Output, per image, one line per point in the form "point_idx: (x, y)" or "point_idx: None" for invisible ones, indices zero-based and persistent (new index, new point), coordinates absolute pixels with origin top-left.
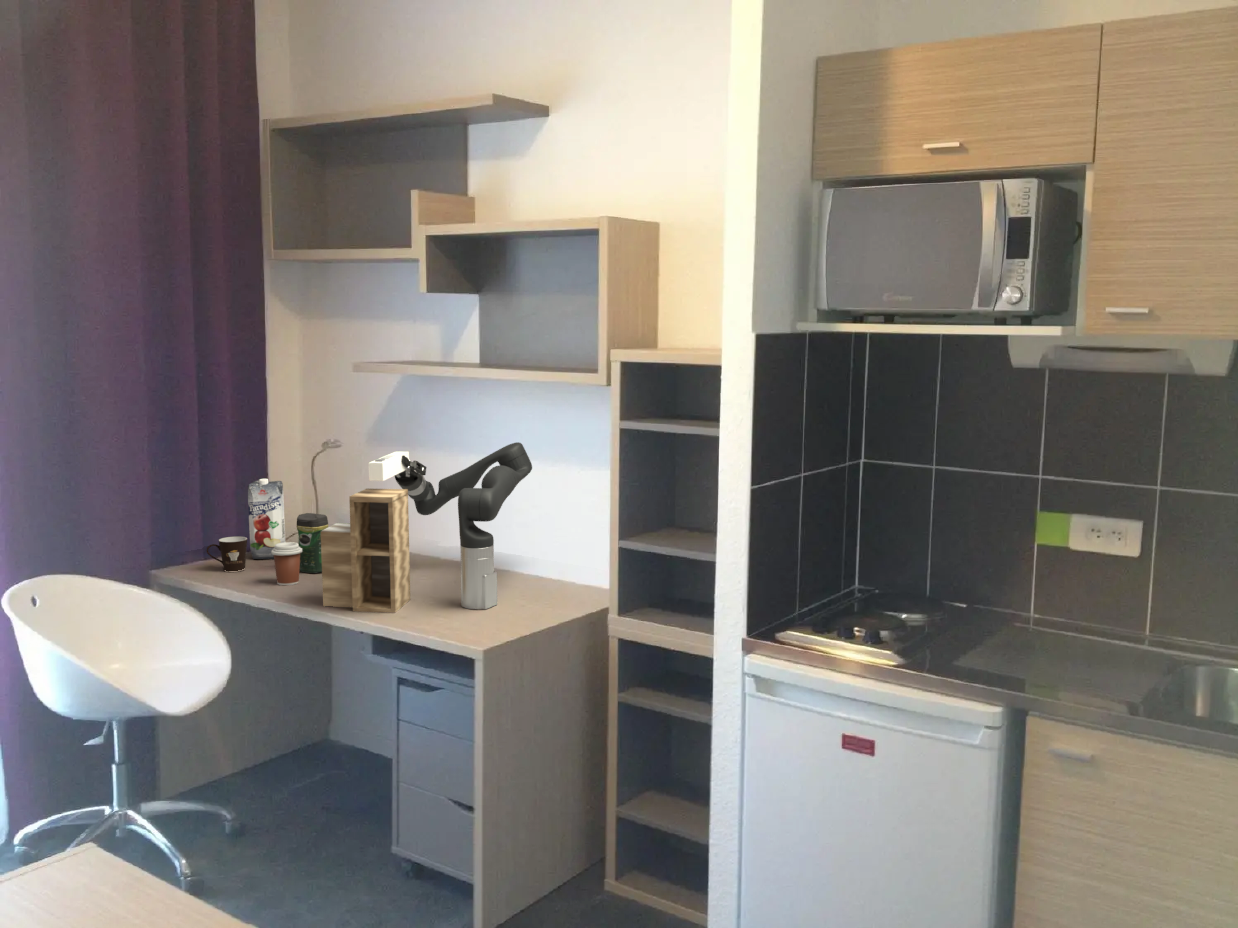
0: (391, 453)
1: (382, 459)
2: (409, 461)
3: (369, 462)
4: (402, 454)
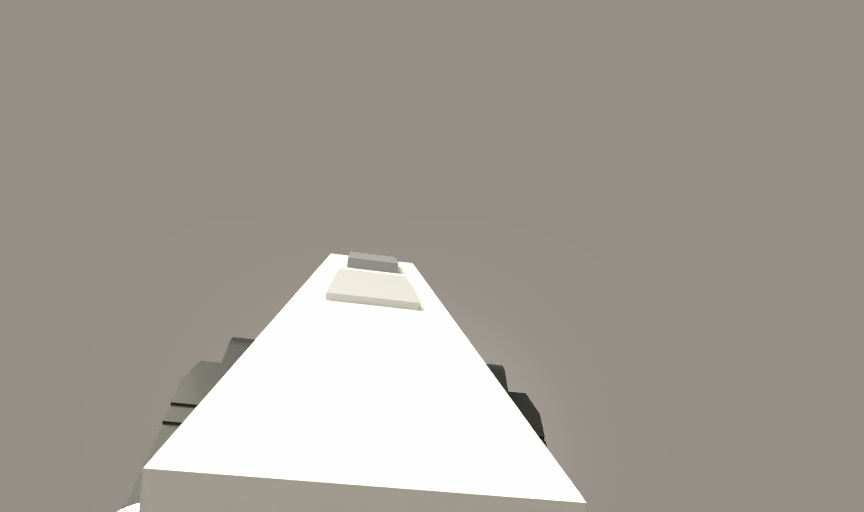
0: (480, 371)
1: (357, 255)
2: (132, 504)
3: (411, 264)
4: (265, 329)
